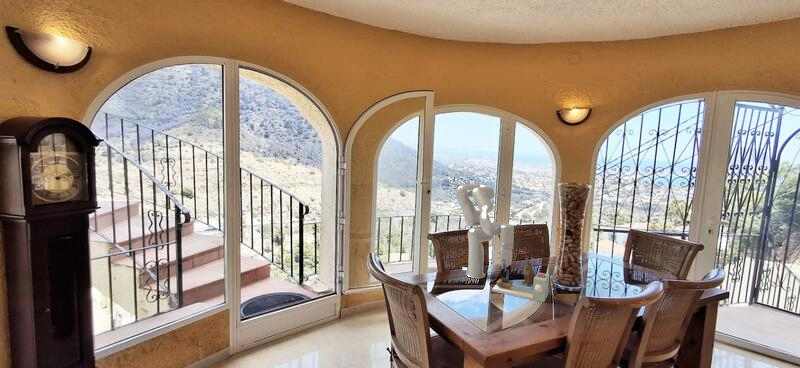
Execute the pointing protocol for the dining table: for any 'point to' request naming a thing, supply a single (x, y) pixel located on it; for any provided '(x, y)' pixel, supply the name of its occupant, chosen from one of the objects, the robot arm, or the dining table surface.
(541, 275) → the button
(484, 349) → the dining table surface
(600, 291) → the dining table surface
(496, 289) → the rail base
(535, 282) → the gauge cabinet
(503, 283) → the carriage
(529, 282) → the worn brown figurine
